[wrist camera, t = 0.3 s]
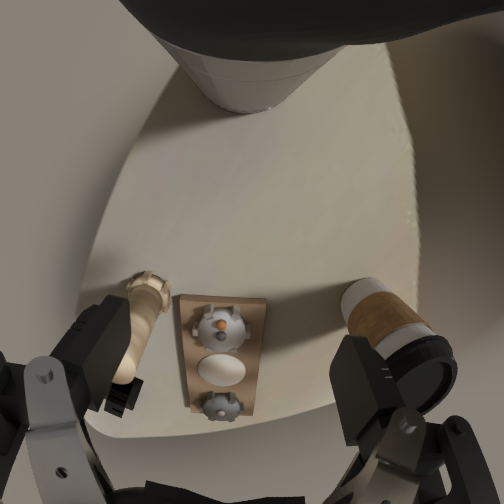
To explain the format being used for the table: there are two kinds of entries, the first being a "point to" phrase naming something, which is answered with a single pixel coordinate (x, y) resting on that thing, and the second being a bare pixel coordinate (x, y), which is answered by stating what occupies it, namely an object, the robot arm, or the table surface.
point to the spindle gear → (142, 319)
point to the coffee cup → (401, 343)
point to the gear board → (222, 353)
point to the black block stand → (122, 396)
